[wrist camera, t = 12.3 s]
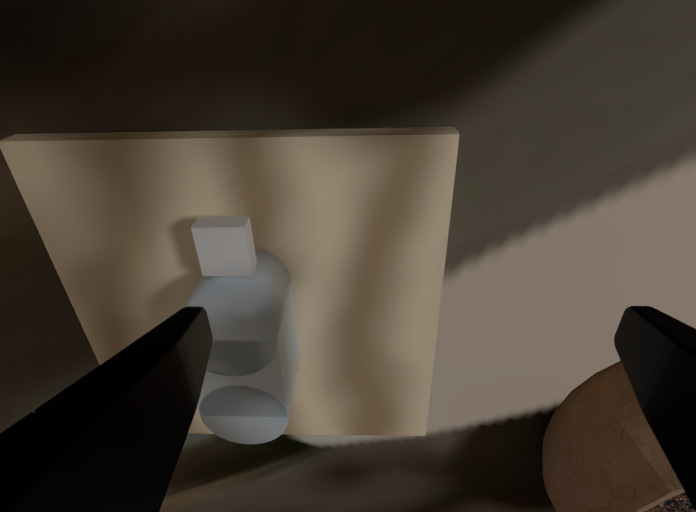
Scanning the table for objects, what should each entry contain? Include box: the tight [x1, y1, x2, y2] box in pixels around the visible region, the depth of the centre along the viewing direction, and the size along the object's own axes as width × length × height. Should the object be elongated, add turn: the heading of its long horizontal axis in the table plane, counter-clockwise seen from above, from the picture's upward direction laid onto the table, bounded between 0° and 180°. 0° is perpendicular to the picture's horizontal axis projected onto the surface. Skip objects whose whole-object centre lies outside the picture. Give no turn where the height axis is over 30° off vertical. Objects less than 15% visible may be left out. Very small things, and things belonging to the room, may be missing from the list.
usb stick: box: [184, 216, 300, 444], centre depth 21 cm, size 12×4×4 cm, turn 1°
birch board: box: [0, 127, 459, 436], centre depth 24 cm, size 20×20×1 cm
